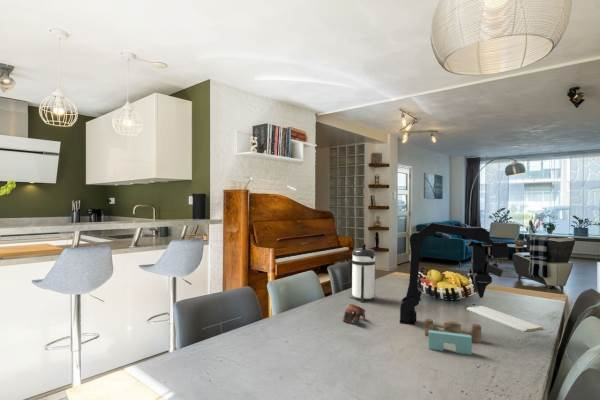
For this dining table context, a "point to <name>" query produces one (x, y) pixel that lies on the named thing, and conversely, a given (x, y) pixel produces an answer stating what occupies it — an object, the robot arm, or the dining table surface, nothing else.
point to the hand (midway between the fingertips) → (479, 294)
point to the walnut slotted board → (454, 329)
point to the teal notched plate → (450, 341)
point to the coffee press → (362, 273)
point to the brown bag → (355, 316)
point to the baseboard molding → (504, 318)
